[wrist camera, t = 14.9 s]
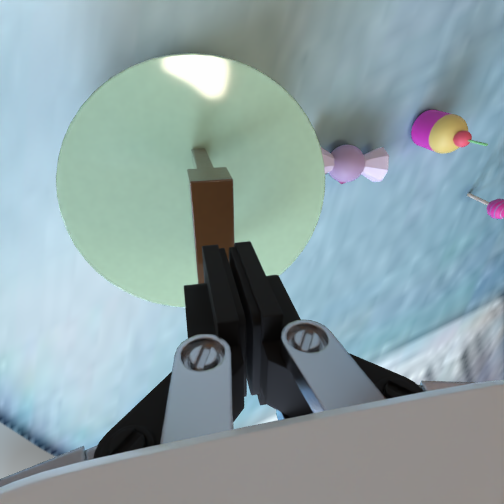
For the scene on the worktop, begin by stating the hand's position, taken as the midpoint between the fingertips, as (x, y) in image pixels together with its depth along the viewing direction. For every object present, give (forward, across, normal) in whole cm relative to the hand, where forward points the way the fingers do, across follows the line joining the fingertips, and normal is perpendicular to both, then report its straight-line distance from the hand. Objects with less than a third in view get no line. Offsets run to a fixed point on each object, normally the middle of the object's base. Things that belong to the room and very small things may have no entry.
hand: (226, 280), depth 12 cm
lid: (+8, 0, 0) cm, 8 cm away
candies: (+16, -18, +1) cm, 24 cm away
